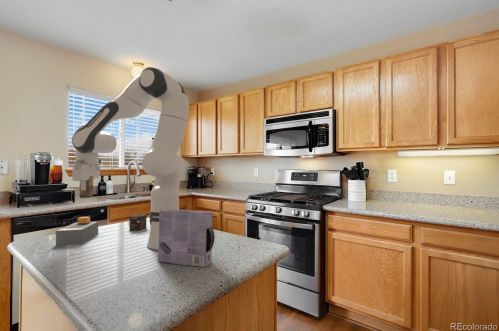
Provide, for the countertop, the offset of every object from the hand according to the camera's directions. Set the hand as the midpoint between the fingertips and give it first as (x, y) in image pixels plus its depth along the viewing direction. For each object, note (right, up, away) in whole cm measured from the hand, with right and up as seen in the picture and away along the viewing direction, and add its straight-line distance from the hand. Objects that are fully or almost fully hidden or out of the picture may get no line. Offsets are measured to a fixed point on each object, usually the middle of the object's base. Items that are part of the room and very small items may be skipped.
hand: (86, 189), depth 117 cm
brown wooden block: (0, -4, 0) cm, 4 cm away
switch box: (-1, -22, -4) cm, 22 cm away
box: (+19, -22, +12) cm, 31 cm away
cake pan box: (+55, -22, -33) cm, 68 cm away
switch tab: (-2, -16, +1) cm, 16 cm away
